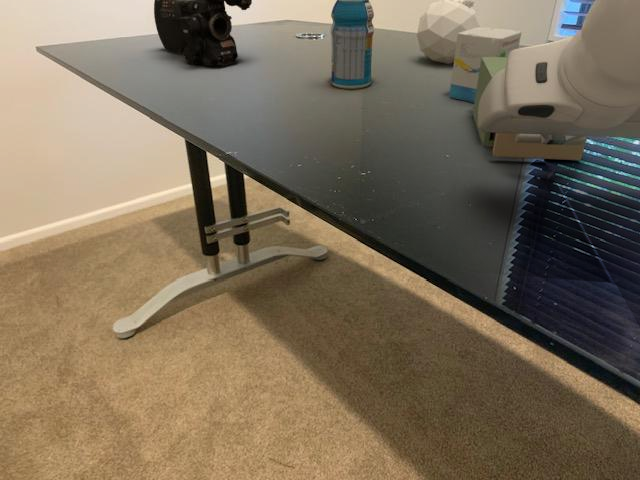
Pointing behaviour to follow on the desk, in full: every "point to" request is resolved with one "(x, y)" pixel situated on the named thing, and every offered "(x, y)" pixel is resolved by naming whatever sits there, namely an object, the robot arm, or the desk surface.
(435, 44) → the geodesic sphere
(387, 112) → the desk surface
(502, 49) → the ink box
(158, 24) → the movie camera
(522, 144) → the drawer
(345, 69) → the beverage bottle
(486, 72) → the green nightstand
